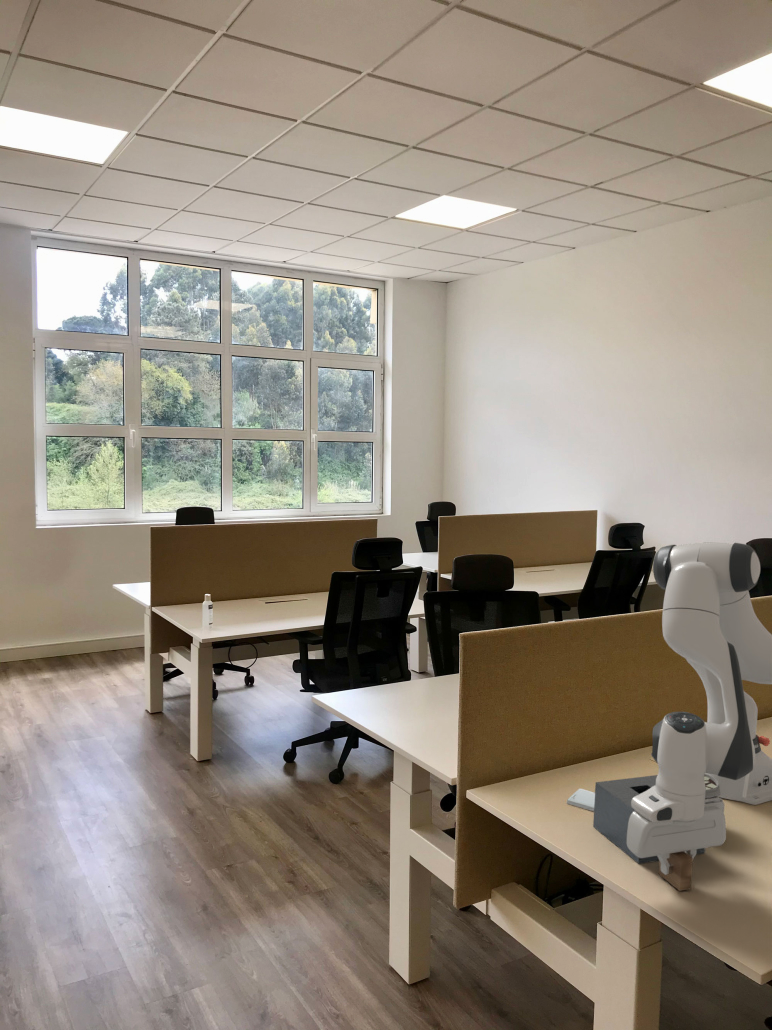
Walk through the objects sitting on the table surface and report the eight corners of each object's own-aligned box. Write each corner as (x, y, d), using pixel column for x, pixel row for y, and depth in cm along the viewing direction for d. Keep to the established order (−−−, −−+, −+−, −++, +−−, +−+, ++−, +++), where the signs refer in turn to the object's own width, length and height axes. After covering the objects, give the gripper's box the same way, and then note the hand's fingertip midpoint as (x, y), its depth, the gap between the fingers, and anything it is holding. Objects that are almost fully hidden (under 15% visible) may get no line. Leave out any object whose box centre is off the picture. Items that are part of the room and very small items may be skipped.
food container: (712, 841, 167) (715, 795, 166) (682, 833, 170) (685, 788, 169) (722, 819, 177) (725, 776, 176) (693, 812, 180) (696, 769, 180)
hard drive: (566, 799, 183) (619, 814, 176) (580, 787, 189) (631, 801, 182) (566, 806, 183) (619, 821, 176) (579, 794, 190) (631, 808, 183)
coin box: (654, 818, 177) (657, 775, 176) (704, 853, 162) (707, 806, 161) (593, 826, 172) (595, 782, 171) (638, 863, 156) (641, 815, 156)
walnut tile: (669, 872, 153) (671, 842, 152) (690, 888, 147) (692, 857, 147) (658, 874, 152) (660, 844, 152) (679, 890, 146) (681, 859, 146)
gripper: (712, 787, 155) (708, 855, 156) (623, 799, 148) (619, 870, 149) (736, 801, 149) (731, 872, 150) (644, 814, 142) (640, 888, 143)
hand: (675, 871), depth 149 cm, fingers closed on walnut tile, 2 cm apart
